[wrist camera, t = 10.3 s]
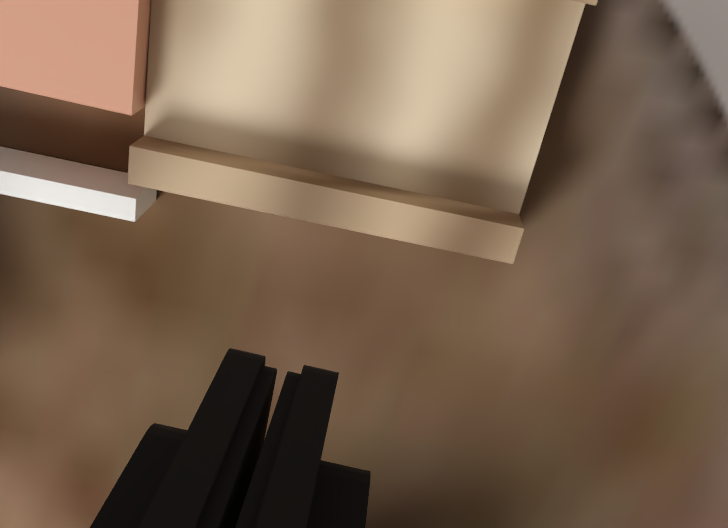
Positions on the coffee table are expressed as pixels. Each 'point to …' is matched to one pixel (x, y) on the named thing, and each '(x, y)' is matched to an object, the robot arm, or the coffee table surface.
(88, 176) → the white u-shaped bracket
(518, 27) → the wooden tray
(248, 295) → the coffee table surface
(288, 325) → the coffee table surface
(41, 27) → the tile
